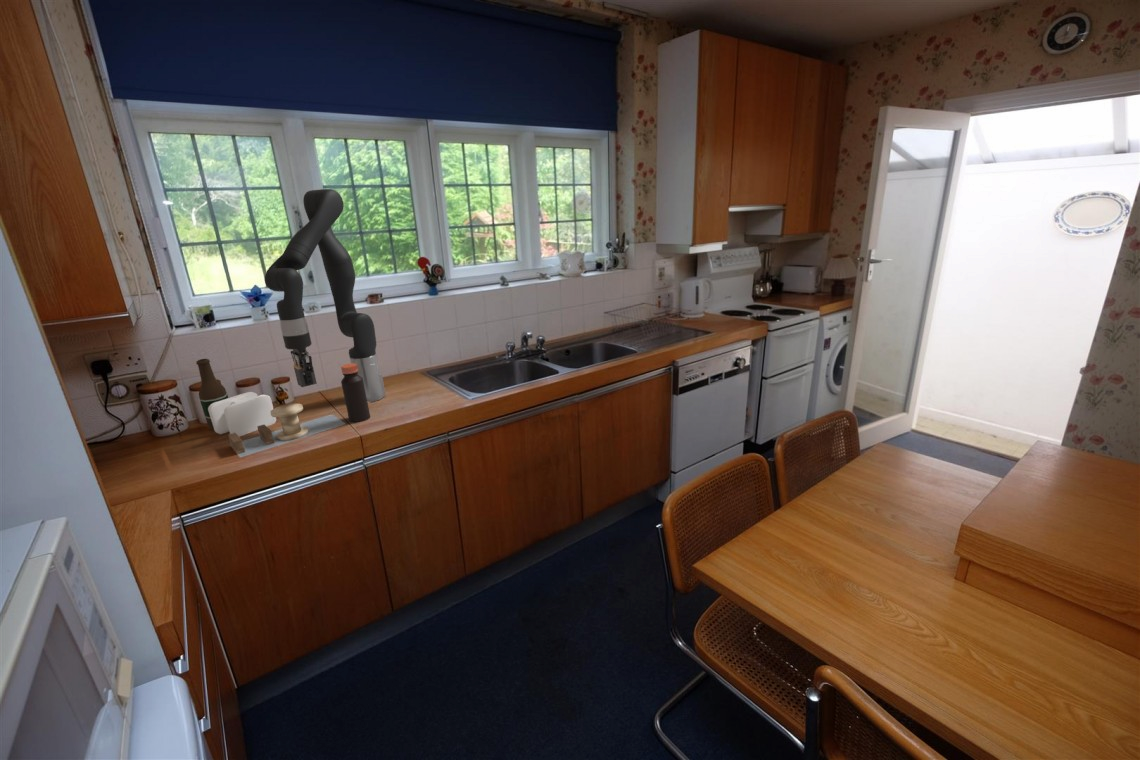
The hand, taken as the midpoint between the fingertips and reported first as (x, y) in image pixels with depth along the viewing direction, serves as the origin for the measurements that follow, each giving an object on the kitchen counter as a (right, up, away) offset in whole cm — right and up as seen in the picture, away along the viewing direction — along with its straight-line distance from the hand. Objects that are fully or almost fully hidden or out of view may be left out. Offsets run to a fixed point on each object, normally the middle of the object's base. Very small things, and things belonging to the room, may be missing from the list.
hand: (307, 382), depth 162 cm
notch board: (-12, -19, -9) cm, 24 cm away
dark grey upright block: (0, 0, 0) cm, 0 cm away
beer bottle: (-34, -15, +10) cm, 39 cm away
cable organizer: (-22, -16, +5) cm, 28 cm away
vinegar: (+14, -13, +7) cm, 21 cm away
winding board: (-4, -17, -2) cm, 18 cm away
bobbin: (-3, -17, -3) cm, 17 cm away
